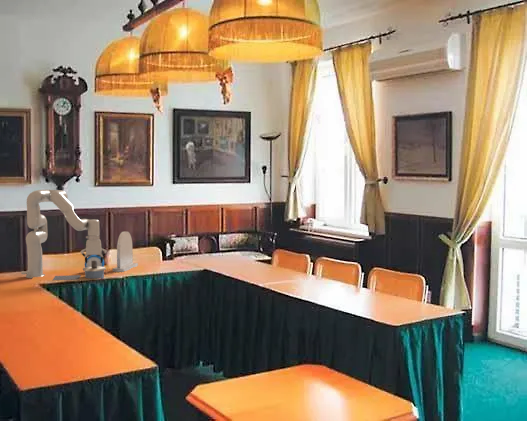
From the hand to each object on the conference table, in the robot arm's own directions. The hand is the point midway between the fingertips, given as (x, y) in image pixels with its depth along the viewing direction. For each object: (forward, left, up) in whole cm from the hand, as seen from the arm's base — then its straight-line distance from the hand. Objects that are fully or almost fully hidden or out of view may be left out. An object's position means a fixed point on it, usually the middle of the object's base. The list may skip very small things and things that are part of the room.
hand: (93, 262), depth 439 cm
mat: (-18, 0, -11) cm, 21 cm away
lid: (0, 0, -5) cm, 5 cm away
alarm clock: (-1, +20, -11) cm, 23 cm away
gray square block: (0, 0, -11) cm, 11 cm away
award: (+20, +37, -11) cm, 44 cm away
